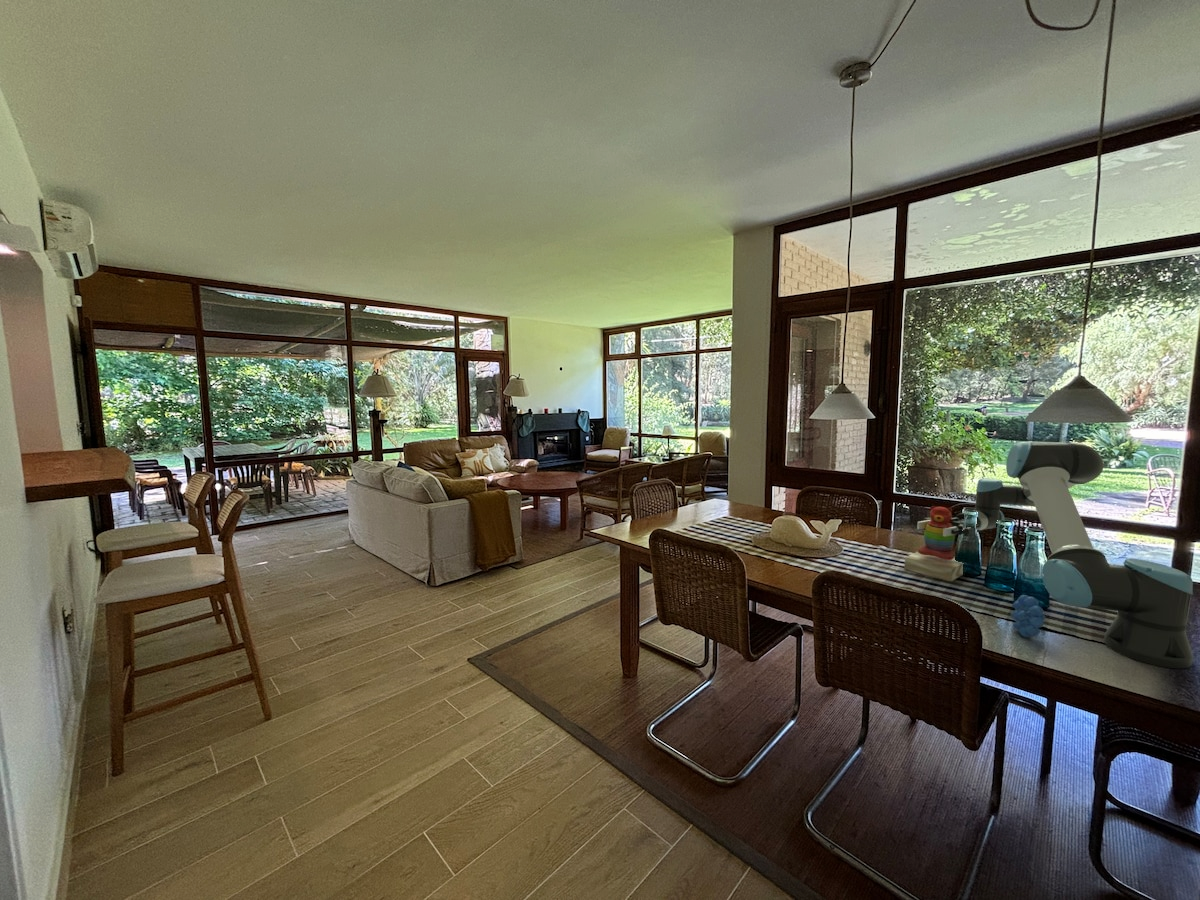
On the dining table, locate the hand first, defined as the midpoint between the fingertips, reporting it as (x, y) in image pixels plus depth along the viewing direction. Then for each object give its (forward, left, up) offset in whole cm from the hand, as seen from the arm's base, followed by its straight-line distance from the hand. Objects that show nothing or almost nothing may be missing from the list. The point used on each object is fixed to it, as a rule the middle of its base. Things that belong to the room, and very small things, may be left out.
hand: (930, 529), depth 178 cm
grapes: (-30, -36, -17) cm, 50 cm away
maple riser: (+4, -1, -17) cm, 18 cm away
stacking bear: (+4, -1, -10) cm, 11 cm away
